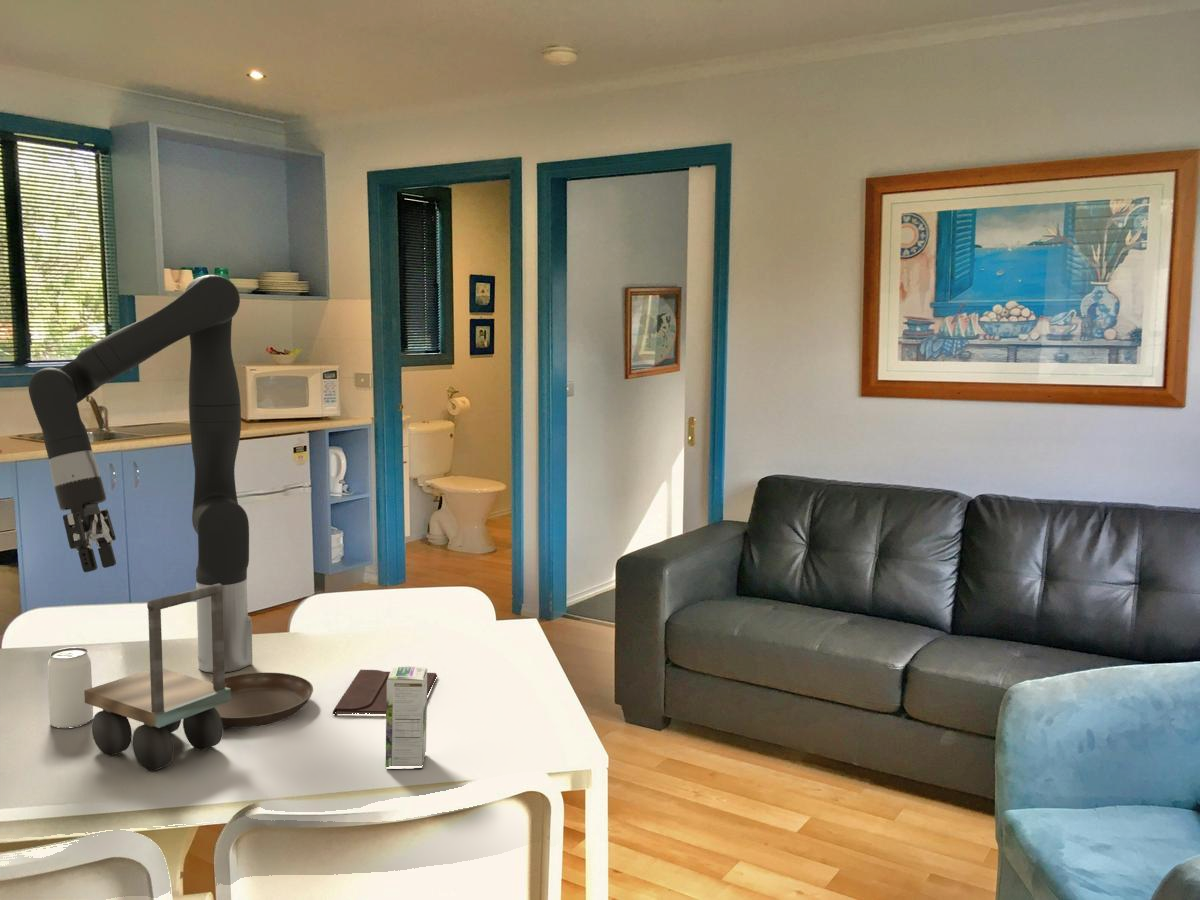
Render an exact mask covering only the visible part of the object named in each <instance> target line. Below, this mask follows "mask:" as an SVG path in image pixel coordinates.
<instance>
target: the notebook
mask: <svg viewBox="0 0 1200 900" xmlns="http://www.w3.org/2000/svg"><path fill="white" fill-rule="evenodd" d="M390 672H391V671H383V670H379V669H359V671H358V673H357V674H356V676H355V677H354V678H353V680H352V681H351V683H350V685H349V686H348V687H347V689H346V690H345V692H344V693H343V695H342V696H341V698H340V699H339V701H338V702H337V704H336V705H335V706H334V708H333V710H332V715H333V714H335V712H336V714H352V713H353V714H355V713H356V714H357V713H359V714H365V713H367V714H369V713H370V714H386V702H387V680H388V677H389V674H390ZM436 677H437V678H438V674H437V673H436V672H427V695H428V693H429V691H430V689H431V687H432V685H433V683H434V681H435V679H436ZM436 680H437V679H436Z"/></svg>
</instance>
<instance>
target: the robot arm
mask: <svg viewBox="0 0 1200 900" xmlns="http://www.w3.org/2000/svg"><path fill="white" fill-rule="evenodd" d="M240 302H241V299H240V293H239V290H238V288H237V286H235V284H234V283H233V282H232V281H230V280H229V279H227V278H226V277H224V276H221V275H217V274H205V275H202V276H201V275H200V276H198V277H196V278H194V279H193V280H191V282H190V283H188V285H187V286H186V289H185V290H184V291H183V292H182V293H181V295H180V296H178V297H177V298H175V299H174V300H173V301H171V302H170V303H168V304H167V305H166V306H164V307H162V308H161V309H160V310H157V311H156V312H154V313H152V314H150V315H148V316H146V317H144V318H141V319H140V320H138V321H136V322H133V323H131V324H129V325H126V326H124V327H122V328H120V329H118V330H116V331H115V332H112V333H110V334H108V335H107V336H104V338H103V337H102V338H101V339H99V340H98V341H95V343H91V344H90V345H89V346H87V347H85V348H84V349H82V350H81V351H80V352H79V353H78V354H77V357H75V359H73V360H72V361H70V362H68V363H66V364H64V365H63V366H61V367H60V368H55V367H44V368H41V369H39V370H37V371H36V372H34V374H33V375H32V376H31V377H30V379H29V382H28V389H27V390H28V395H29V399H30V401H31V405H32V407H33V411H34V414H35V415H36V418H37V421H38V424H39V426H40V429H41V431H42V436H43V443H44V446H45V451H46V453H47V456H48V457H47V458H48V462H49V470H50V476H51V478H52V479H51V480H52V483H53V487H54V490H55V494H56V498H57V501H58V506H59V509H60V510H61V511H63V512H64V511H66V512H67V511H70V513H67V514H64V515H62V520H63V524H64V528H65V532H66V537H67V542H68V545H69V548H70V549H71V550H73V549H74V550H75V552H76V553H77V554H78V556H79V560H80V563H81V568H82V571H83V572H84V573H89V572H92V571H93V572H94V571H96V570H97V569H98V564H97V561H96V559H97V558H96V556H95V552H94V549H93V542H94V543H95V545H96V546H97V549H98V555H99V558H100V562H101V566H102V568H104V569H105V568H110V567H114V566H116V564H117V561H116V556H115V553H114V550H113V549H114V548H113V546H112V545H113V543H114V541H116V539H117V538H116V537H117V536H116V535H115V531H114V527H113V523H112V520H111V516H110V513H109V510H108V508H104V509H100V508H99V504H100V503H104V502H106V500H107V495H106V492H105V487H104V484H103V479H102V477H101V473H100V469H99V465H98V462H97V459H96V457H95V455H94V452H93V449H92V445H91V442H90V438H89V437H90V436H89V434H88V431H87V428H86V426H85V424H84V422H83V421H82V418H81V415H80V410H79V406H78V403H80V402H81V401H83V400H84V399H86V398H88V396H90V395H92V393H93V392H96V391H97V390H98V389H99V388H100V387H101V386H104V385H105V384H107V383H110V382H111V381H113V380H114V379H117V378H119V377H121V375H124V374H125V373H127V372H129V371H131V370H132V369H134V368H136V367H137V366H139V365H140V364H142V363H144V362H145V361H147V360H148V359H150V358H152V357H153V356H154V355H156V354H158V353H160V352H161V351H162V350H164V349H166V348H168V347H169V346H171V345H173V344H174V343H176V342H178V341H181V340H182V339H184V338H186V337H188V336H189V341H190V342H189V343H190V362H189V376H188V377H189V378H188V379H189V380H188V415H189V417H188V418H189V419H188V420H189V428H190V429H189V431H190V441H191V452H192V459H193V465H194V486H193V487H194V490H193V504H192V511H191V512H192V513H191V521H192V527H193V530H194V531H195V533H196V534H197V545H198V546H197V548H198V550H197V551H198V552H197V554H198V560H197V566H196V569H195V579H196V581H195V586H196V587H195V588H196V589H199V588H203V587H207V586H211V585H215V584H218V583H220V584H221V585H222V586H223V632H224V673H229V672H230V673H231V672H235V671H238V670H241V669H244V668H245V667H248V666H253V623H252V617H251V616H249V614H248V611H249V610H248V606H249V605H248V568H249V564H250V522H249V517H248V515H247V512H246V510H245V509H244V508H243V507H242V506H241V505H240V504H239V502H238V497H237V490H236V489H237V488H236V478H235V477H236V476H235V467H236V461H237V460H236V459H237V454H238V451H239V450H238V449H239V444H240V439H241V431H242V412H241V411H242V409H241V405H242V404H241V394H240V388H239V382H238V377H237V372H236V367H235V363H234V358H233V354H232V327H233V326H232V325H233V324H232V323H233V317H234V316H235V315H236V314H237V312H238V311H239V307H240ZM196 617H197V622H196V623H197V652H198V653H197V655H198V656H197V659H198V669H199V670H200V671H202V672H204V673H205V672H206V673H212V674H213V654H212V615H211V596H209V597H206V598H202V599H198V600H196Z"/></svg>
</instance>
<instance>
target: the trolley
mask: <svg viewBox="0 0 1200 900" xmlns="http://www.w3.org/2000/svg"><path fill="white" fill-rule="evenodd" d="M209 596H211V615H212V654H213V673H212V677H213V678H212V680H213V681H212V682H213V683H211V682H209V681H207V680H202V679H199V678H197V677H196V678H195V677H192V676H189V675H186V674H183V673H178V672H175V671H172V670H170V669H169V670H168V669H165V668H164V667H163V640H162V639H163V638H162V611H161V610H164V609H166V608H167V609H168V608H171V607H175V606H178V605H182V604H185V603H186V604H187V603H190V602H194V601H197V600H198V599H202V598H206V597H209ZM147 614H148V636H149V637H148V642H149V643H148V644H149V645H148V647H149V669H147V670H143V671H141V672H138V673H135V674H132V675H129V676H125V677H122V678H119V679H116V680H113V681H109V682H106V683H103V684H100V685H98V686H97V685H96V686H92V688H90V689H87V690H84V696H85V703H87V704H90V705H93V707H96V708H99V709H102V710H100V711H98V712H96V713H95V714H94V715H93V718H92V720H91V721H92V723H91V732H92V738H93V741H94V743H95V744H96V747H97V748H98V749H99V751H100V752H101V753H103V754H104V755H105V756H114V755H118V754H119V753H122V752H124V751H126V750H127V749H129V747H130V745H132V749H133V753H134V756H135V759H136V760H137V762H138V763H139V765H140V766H141V767H142V768H143V769H144V770H145V771H149V772H155V771H156V770H159V769H162V768H164V767H167V766H168V765H170V764H171V762H172V760H173V758H174V754H175V748H174V746H175V745H174V741H173V738H172V734H171V733H174V732H176V731H178V729H179V728H180V726H181V723H182V728H183V733H184V735H185V738H186V739H187V741H188V743H189V744H190V746H192V747H193V748H194V749H196V750H198V751H205V750H207V749H210V748H212V747H215V746H217V745H219V744H220V742H221V741H222V738H223V736H224V727H223V724H222V720H221V717H220V715H219V713H218V711H217V710H216V709H215V708H214V707H216V706H219V705H221V704H224V703H227V702H229V701H231V689H230V688H227V687H225V678H226V677H225V673H226V672H224V632H223V586H222V585H221V584H220V583H218V584H215V585H211V586H207V587H203V588H199V589H192V590H188V591H187V590H186V591H183V592H180V593H176V594H171V595H168V596H163V597H159V598H156V599H151V600H148V601H147ZM129 719H131V720H134V721H137V722H140V723H143V724H142V725H139V726H137V728H136V729H135V730H134V732H133V734H132V726H131V724H130V721H129ZM131 743H132V744H131Z"/></svg>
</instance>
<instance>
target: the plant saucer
mask: <svg viewBox="0 0 1200 900" xmlns="http://www.w3.org/2000/svg"><path fill="white" fill-rule="evenodd" d="M210 683H213V681H211V682H210ZM225 687H227V688H230V689H231V701H229V702H227V703H224V704H221V705H219V706H216V707H214V708H215V709H216V710H217V711H218V713H219V715H220V717H221V720H222V724H223V728H226V727H227V729H228V728H229V729H245V728H246V729H249V728H257V727H259V728H260V727H264V726H269V725H273V724H276V722H277V723H278V722H279V721H280V722H282V721H285V720H287V719H289V718H291V717H292V716H294V715H296V714H297V713H298V712H299V711H300V710H301V709H302V708H303V707H304V706H306V704H307V703H308V701H309V700H310V698H311V697H312V695H313V692H314V686H313V684H312V683H311V681H308V680H307V679H306V678H303V677H301V676H299V675H295V674H289V673H283V672H252V673H245V674H238V675H231V676H227V677H225Z"/></svg>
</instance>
